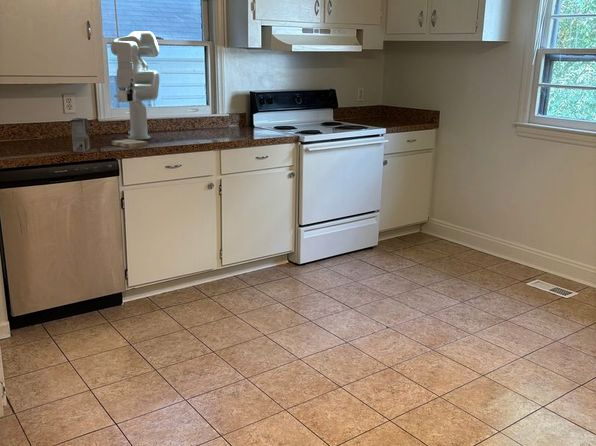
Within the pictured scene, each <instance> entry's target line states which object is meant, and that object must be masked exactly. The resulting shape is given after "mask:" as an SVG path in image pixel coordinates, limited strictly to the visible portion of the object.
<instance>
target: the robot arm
mask: <svg viewBox="0 0 596 446" xmlns="http://www.w3.org/2000/svg"><path fill="white" fill-rule="evenodd" d="M110 51H111V54H112V55H114V56H117V69H116V87H117V88H118V90H127V92H128V94H127V101H133V91H134V90H135V92H136V101H133V102H128V106H129V108H128V109H129V124H130V130H129V131H127V133H128V134H129V135H128V136H127V137H128V138H127V139H133V140H139V141H141V140H149V139H151V135H148V134H149V133H148V117H147V116H148V115H147V107H146V105H145V104H144V103H143V101H145V102H146V101H149V102H150V101H151V102H152V101H156V100H157V99H158V96H159V90H160V89H159V88H160V87H159V86H160V75H159V72H158V71H157V70H154V69H149V66H148V63H147V62H146V61H145V60H144V59H143V58H156V57H158V55H159V54H160V48H159V44H158V41H157V39H156V36H155V35H154V33H153V32H152V31H142V30H141V31H140V30H139V31H136V30H135V31H133V32H131V33H130V34H129V35H127V36H122V37H119V38H115V39H114V40H113V41H112V42H111V44H110Z"/></svg>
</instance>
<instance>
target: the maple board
mask: <svg viewBox="0 0 596 446" xmlns="http://www.w3.org/2000/svg"><path fill="white" fill-rule="evenodd" d="M111 145H112V146H116V147H122V148H128V149H131V148H138V147H147V146H146V145H149V143H148V141H144V140H136V139H129V138H126V139H117V140H111Z"/></svg>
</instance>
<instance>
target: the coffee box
mask: <svg viewBox="0 0 596 446" xmlns="http://www.w3.org/2000/svg"><path fill="white" fill-rule="evenodd" d="M70 127H71V139H72V151H73V152H74V153H77V152H78V153H82V152H83V153H85V152H87V151H88V150H90V149H91V148H90V147H91V146H90V145H91V144H90V135H89V134H90V133H89V123H88V118H84V117H83V118H82V117H76V118H73V119H71V120H70Z"/></svg>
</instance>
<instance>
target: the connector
mask: <svg viewBox="0 0 596 446" xmlns="http://www.w3.org/2000/svg"><path fill="white" fill-rule="evenodd" d="M127 94H128V92H127V89H126V90H119V89H117V94H114V95H113V97H114V98H117V102H118V103H129V102H133V101H136V92H135V90H134V91H133V101H127Z"/></svg>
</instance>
